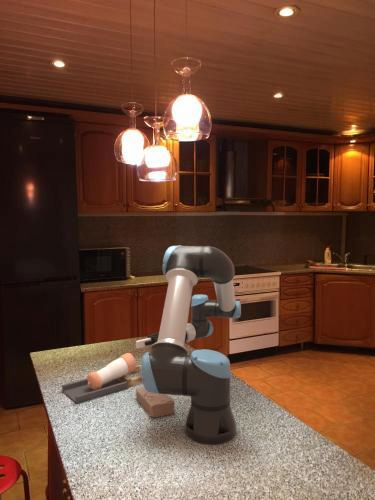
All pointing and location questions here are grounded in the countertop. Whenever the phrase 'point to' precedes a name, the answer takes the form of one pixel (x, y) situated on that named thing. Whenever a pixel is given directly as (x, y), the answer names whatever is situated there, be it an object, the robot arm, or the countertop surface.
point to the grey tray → (91, 390)
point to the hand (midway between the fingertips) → (136, 344)
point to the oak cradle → (134, 380)
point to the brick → (155, 402)
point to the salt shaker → (112, 371)
